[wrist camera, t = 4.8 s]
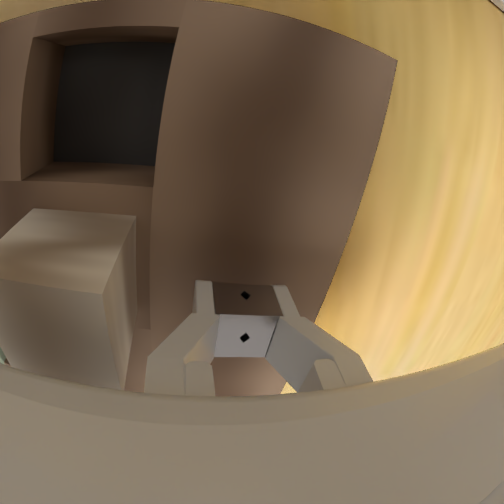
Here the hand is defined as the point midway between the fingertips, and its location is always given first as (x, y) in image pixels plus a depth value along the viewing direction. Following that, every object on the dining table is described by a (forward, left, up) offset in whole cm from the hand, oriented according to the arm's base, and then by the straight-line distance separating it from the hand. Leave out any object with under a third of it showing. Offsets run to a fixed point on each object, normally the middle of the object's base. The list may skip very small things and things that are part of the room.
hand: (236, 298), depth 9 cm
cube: (+5, 0, -1) cm, 6 cm away
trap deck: (+7, 0, -4) cm, 8 cm away
